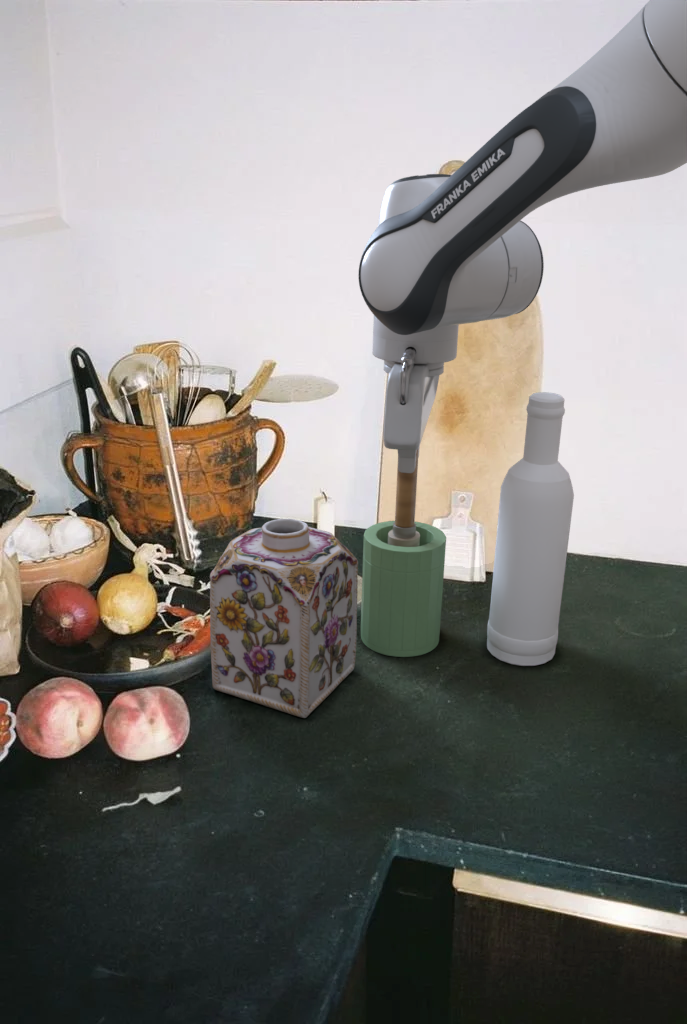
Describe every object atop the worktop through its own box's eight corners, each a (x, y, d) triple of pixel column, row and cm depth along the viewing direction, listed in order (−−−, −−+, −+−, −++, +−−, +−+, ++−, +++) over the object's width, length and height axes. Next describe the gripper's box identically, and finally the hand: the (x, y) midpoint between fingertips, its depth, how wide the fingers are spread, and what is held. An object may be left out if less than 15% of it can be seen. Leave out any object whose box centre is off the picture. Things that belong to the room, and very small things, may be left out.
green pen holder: (441, 623, 114) (448, 524, 109) (435, 661, 105) (443, 555, 100) (366, 615, 115) (370, 517, 110) (355, 652, 107) (358, 547, 102)
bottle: (509, 672, 103) (536, 408, 92) (472, 640, 110) (493, 390, 99) (569, 659, 106) (602, 401, 95) (530, 628, 113) (556, 384, 102)
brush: (419, 569, 109) (428, 417, 102) (416, 582, 105) (425, 426, 99) (388, 566, 109) (395, 415, 102) (384, 579, 106) (391, 423, 99)
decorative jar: (305, 722, 93) (307, 557, 87) (208, 691, 98) (203, 533, 92) (358, 668, 103) (363, 516, 97) (268, 643, 108) (267, 496, 102)
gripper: (437, 361, 87) (429, 500, 92) (451, 324, 106) (443, 441, 111) (371, 358, 88) (366, 495, 93) (396, 321, 107) (391, 437, 112)
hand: (408, 465), depth 102 cm, fingers closed on brush, 2 cm apart
